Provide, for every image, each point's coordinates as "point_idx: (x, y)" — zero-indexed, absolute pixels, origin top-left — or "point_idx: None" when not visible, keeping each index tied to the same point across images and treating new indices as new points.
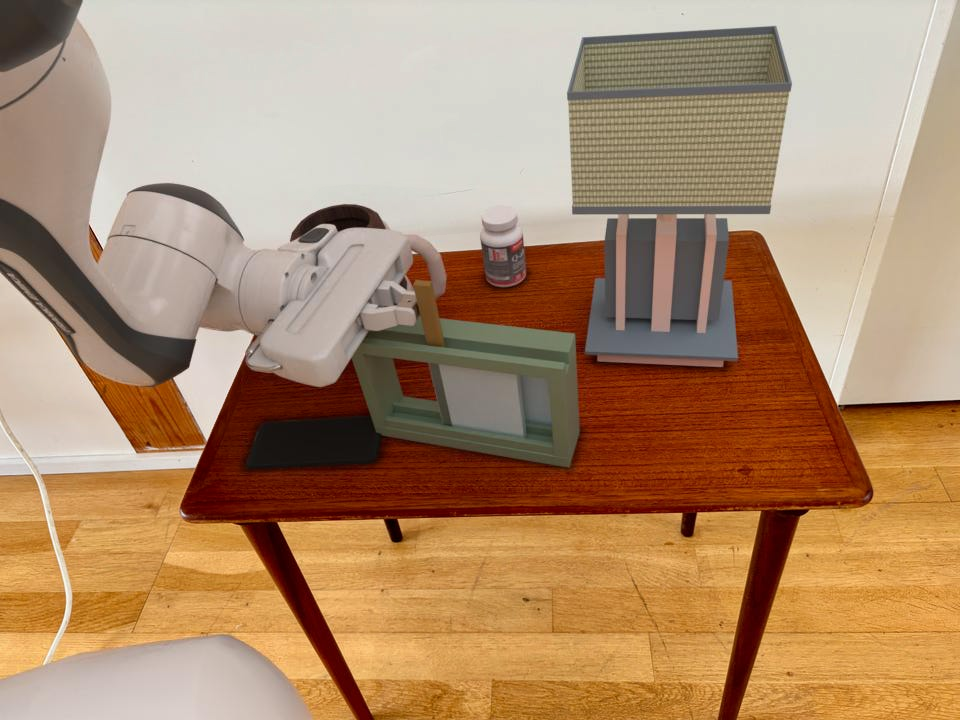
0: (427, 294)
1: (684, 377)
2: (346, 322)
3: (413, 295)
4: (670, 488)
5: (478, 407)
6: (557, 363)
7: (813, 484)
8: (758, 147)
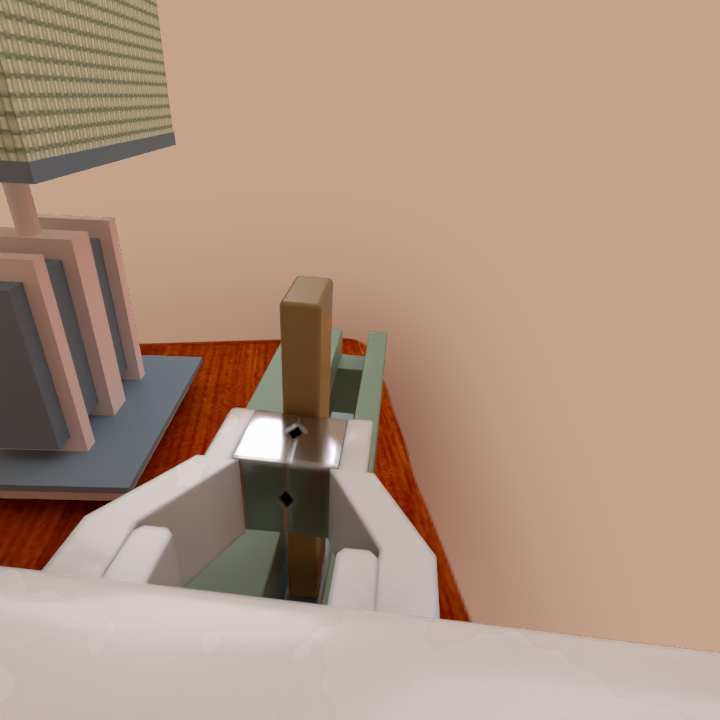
0: (329, 325)
1: (198, 415)
2: (674, 648)
3: (250, 425)
4: (382, 430)
5: None
6: (373, 337)
7: (357, 355)
8: (151, 35)
